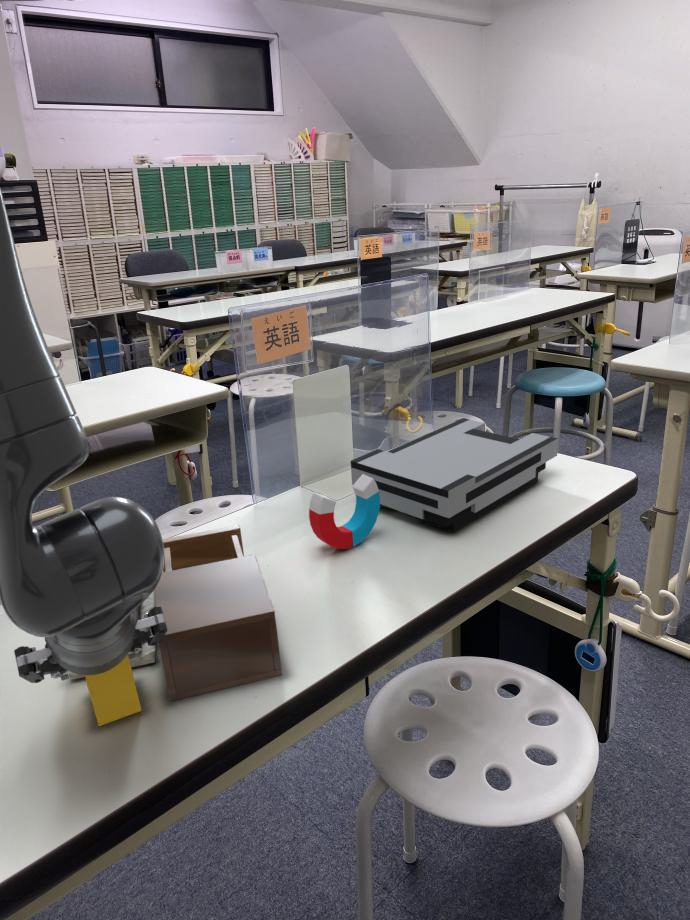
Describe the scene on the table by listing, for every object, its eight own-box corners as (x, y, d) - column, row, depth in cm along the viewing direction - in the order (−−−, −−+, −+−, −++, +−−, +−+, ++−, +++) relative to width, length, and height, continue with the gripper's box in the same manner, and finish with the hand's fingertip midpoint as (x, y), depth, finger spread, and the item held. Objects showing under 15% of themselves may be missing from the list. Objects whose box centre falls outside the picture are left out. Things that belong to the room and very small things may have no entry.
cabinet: (165, 632, 88) (154, 573, 84) (262, 611, 90) (255, 554, 87) (170, 701, 75) (157, 636, 72) (282, 674, 78) (274, 611, 75)
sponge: (98, 726, 72) (79, 657, 69) (92, 698, 77) (74, 631, 73) (141, 711, 74) (125, 642, 71) (133, 684, 78) (117, 618, 75)
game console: (556, 474, 126) (558, 432, 123) (449, 539, 105) (448, 491, 102) (463, 450, 140) (463, 412, 137) (353, 504, 119) (350, 460, 116)
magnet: (371, 528, 110) (368, 471, 107) (382, 534, 108) (379, 476, 105) (312, 554, 104) (306, 494, 100) (322, 560, 102) (317, 500, 98)
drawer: (164, 568, 101) (156, 527, 99) (240, 553, 104) (235, 512, 101) (169, 631, 86) (160, 584, 84) (258, 612, 89) (252, 566, 86)
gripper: (162, 560, 64) (154, 607, 78) (-8, 606, 58) (17, 647, 72) (184, 637, 61) (172, 671, 76) (9, 693, 55) (32, 718, 70)
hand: (96, 659), depth 74 cm, fingers open, 6 cm apart
